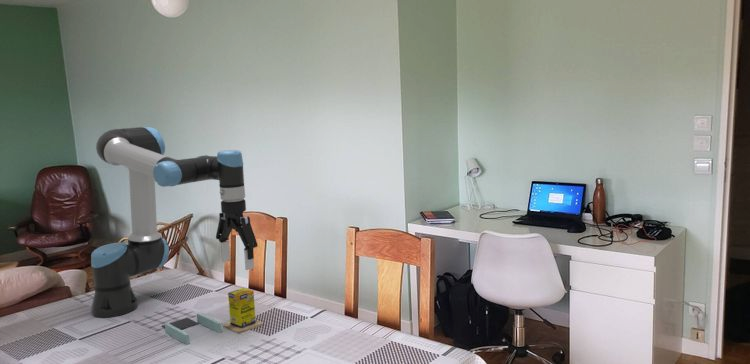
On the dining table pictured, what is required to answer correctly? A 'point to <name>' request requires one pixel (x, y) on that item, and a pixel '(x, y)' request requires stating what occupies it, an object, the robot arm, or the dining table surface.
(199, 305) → the dining table surface
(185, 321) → the mat
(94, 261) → the robot arm
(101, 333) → the dining table surface
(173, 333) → the channel
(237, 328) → the pad
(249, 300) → the supplement box
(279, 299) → the dining table surface
